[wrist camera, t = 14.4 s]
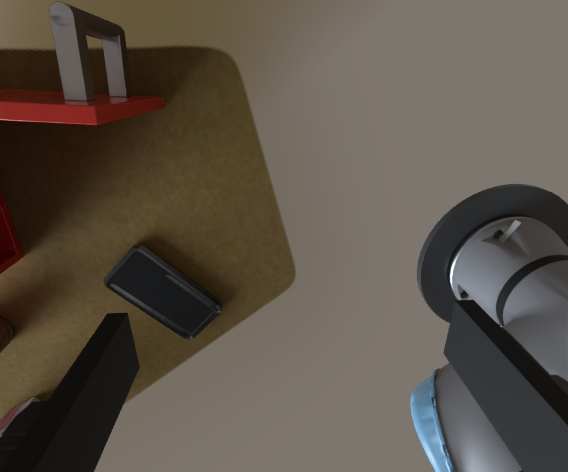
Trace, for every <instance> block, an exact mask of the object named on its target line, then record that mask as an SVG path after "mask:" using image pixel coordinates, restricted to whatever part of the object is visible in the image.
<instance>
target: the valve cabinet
mask: <svg viewBox="0 0 568 472" xmlns="http://www.w3.org/2000/svg"><path fill="white" fill-rule="evenodd" d="M23 257H24V254H23V251H22V249H21V246H20V243H19V240H18V237H17V234H16V231H15V228H14V225H13V222H12V219H11V217H10V214H9V211H8V208H7V205H6V202H5V199H4V196H3V193H2V190H1V187H0V274H1V273H2V272H4V271H5V270H6V269H8V268H9V267H10V266H12V265H13V264H15V263H16V262H17V261H19V260H20V259H21V258H23Z"/></svg>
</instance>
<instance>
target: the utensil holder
mask: <svg viewBox="0 0 568 472" xmlns="http://www.w3.org/2000/svg"><path fill="white" fill-rule="evenodd" d="M12 337H13V330H12V328H11V326H10V324H9V323H8V322H7V321H6V320H4V319H3V318H1V317H0V353H1V351H2V350H3V349H4V348H5V347H6V346H7V345H8V344H9V343H10V341H11V340H12Z"/></svg>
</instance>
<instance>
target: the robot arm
mask: <svg viewBox="0 0 568 472" xmlns="http://www.w3.org/2000/svg"><path fill="white" fill-rule="evenodd" d="M447 281H448V285H449V288H450V290H451V292H452V293H453V295H454V296H455V297H456V298H457V299H458V300H455V304H454V309H453V313H452V318H451V322H450V327H449V331H448V335H447V340H446V344H445V349H444V355H445V356H446V358H447V359H448V361H449V362H450V363H449V364H447V365H446V366H444V367H442V368H441V369H436V370H435V371H434V372H433V374H432V375H431V376H430V377H429V378H427V379H426V380H425V381H424V382H422V383H421V384H420V385H418V386H417V387H416V388H415V389H414V391H413V393H412V396H411V413H412V417H413V422H414V425H415V428H416V431H417V433H418V436H419V439H420V441H421V443H422V446H423V448H424V450H425V452H426V454H427V456H428V458H429V460H430V462H431V464H432V466H433V467H434V469H435V471H436V472H568V247H567V246H566V245H565V243H564V242H563V241H562V240H561V239H560V237H559V236H558V235H557V234H556V233H555V232H554V231H553V230H552V229H551V228H550V227H548V226H547V225H546V224H544V223H542V222H540V221H538V220H536V219H534V218H532V217H529V216H525V215H518V214H511V215H504V216H499V217H496V218H493V219H490V220H488V221H486V222H484V223H482V224H480V225H479V226H477V227H475V228H474V229H473V230H471V231H470V232H469V233H468V234H467V235H466V236H465V237H464V238H463V239H462V240H461V241H460V242H459V244H458V245H457V247H456V248H455V250H454V251H453V253H452V255H451V258H450V260H449V264H448V269H447ZM497 323H498V324H500V325H502V326H503V327H502V328H501V327H500V326H499V325H498V324H497ZM139 367H140V366H139V362H138V357H137V353H136V348H135V344H134V339H133V335H132V331H131V326H130V322H129V317H128V313H109V314H107V315H106V316H105V318H104V319H103V321H102V322H101V324H100V325H99V327H98V328H97V330H96V331H95V333H94V334H93V335H92V337H91V338H90V340H89V341H88V343H87V344H86V346H85V347H84V349H83V350H82V352H81V353H80V354H79V356H78V357H77V359H76V360H75V362H74V363H73V365H72V366H71V368H70V369H69V371H68V372H67V374H66V375H65V376H64V378H63V379H62V381H61V382H60V384H59V385H58V387H57V388H56V390H55V391H54V393H53V394H52V396H51V397H50V398H49V400H48V401H35V402H32V403H30V404H29V405H28V406H27V407H26V408H24V409H23V410H22V411H21V412H20V413H19V414H17V415H16V416H15V417H14V418H13V420H12V421H11V422H10V424H9V425H8V426H7V428H6V429H5V430H4V432H3V433H2V436H1V437H0V472H94V470H95V468H96V465H97V463H98V461H99V459H100V457H101V454H102V452H103V449H104V447H105V445H106V443H107V441H108V438H109V436H110V434H111V431H112V429H113V426H114V425H115V422H116V420H117V418H118V415H119V413H120V411H121V409H122V406H123V404H124V402H125V399H126V397H127V395H128V393H129V390H130V388H131V386H132V383H133V381H134V379H135V377H136V374H137V372H138V370H139Z"/></svg>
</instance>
